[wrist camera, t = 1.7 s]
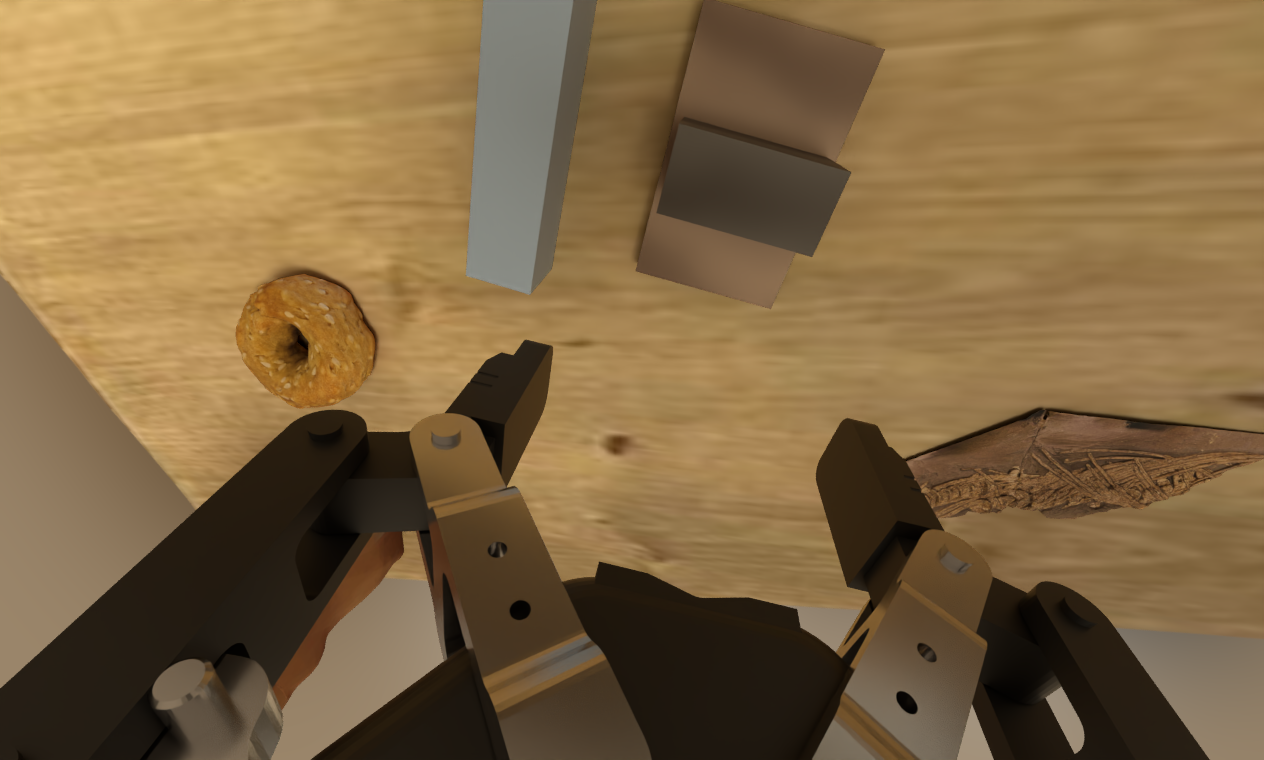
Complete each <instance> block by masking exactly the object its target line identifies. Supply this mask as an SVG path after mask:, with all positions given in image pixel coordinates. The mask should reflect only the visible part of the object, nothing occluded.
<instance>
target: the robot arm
mask: <svg viewBox="0 0 1264 760" xmlns="http://www.w3.org/2000/svg"><path fill="white" fill-rule="evenodd" d="M552 356H553V347H552V346H550V345H546V344H542V343H538V342H534V341H530V340H524V341H523V343H522V344H521V346H520V347H519V349H518V350H517V351H516V353H515V354H514V355H510V354H505V353H500V354H498V355H496V356H494V357H492V358H490V359H488V360H486V361H485V363H484V364H483V365H482V366H481V368H480V369H479V370H478V373H477V374H475V375H474V377H473V378H472V379H471V381H470V383H468V384H467V385H466V387H465V388H464V389H463V391H462V392H461V393H460V394H459V396H458V397H457V398H456V399H455V401H454V402H453V403H452V405H451V406H450V407H449V408H448V410H447V411H446V412H445V413H443V414H436V415H432V416H429V417H426V418H424V419H422V420H421V421H419V422H418V423H417V424H415V425H414V427H413V428H412V430H411V431H408V432H367V426H366V423H365V421H364V419H363V418H362V417H360V416H359V415H357V414H355V413H353V412H349V411H344V410H324V411H318V412H314V413H311V414H308V415H305V416H303V417H301V418H299V419H297V420H296V421H294V422H293V423H292V424H290V425H289V426H288V427H287V428H286V429H285V430H284V431H283V432H281V433H280V434H279V435H278V436H277V437H276V438H275V439H274V440H273V441H272V442H270V443H269V444H268V445H267V446H266V447H265V448H264V449H263V450H262V451H261V452H259V453H258V454H257V455H256V456H255V457H254V458H253V459H252V460H251V461H250V462H248V463H247V464H246V465H245V466H244V467H243V468H242V469H241V470H240V471H239V472H238V473H236V474H235V475H234V476H233V477H232V478H231V479H230V480H229V481H228V482H227V483H225V484H224V485H223V486H222V487H221V488H220V489H219V490H218V491H217V492H216V493H214V494H213V495H212V496H211V497H210V498H209V499H208V500H207V501H206V502H205V503H203V504H202V505H201V506H200V507H199V508H198V509H197V510H196V511H195V512H194V513H193V514H191V516H189V517H188V518H187V519H186V520H185V521H184V522H183V523H182V524H180V525H179V526H178V527H177V528H176V529H175V530H174V531H173V532H172V533H171V534H169V535H168V536H167V537H166V538H165V539H164V540H163V541H162V542H161V543H160V544H158V545H157V546H156V547H155V548H154V549H153V550H152V551H151V552H150V553H149V554H148V555H146V556H145V557H144V558H143V559H142V560H141V561H140V562H139V563H138V564H137V565H136V566H134V567H133V568H132V569H131V570H130V571H129V572H128V573H127V574H126V575H125V576H123V577H122V578H121V579H120V580H119V581H118V582H117V583H116V584H115V585H113V586H112V587H111V588H110V589H109V590H108V591H107V592H106V593H105V594H104V595H102V596H101V597H100V598H99V599H98V600H97V601H96V602H95V603H94V604H93V605H92V606H91V607H89V608H88V609H87V610H86V611H85V612H84V613H83V614H82V615H81V616H79V618H77V619H76V620H75V621H74V622H73V623H72V624H71V625H70V626H69V627H68V628H66V629H65V630H64V631H63V632H62V633H61V634H60V635H59V636H57V637H56V638H55V639H54V640H53V641H52V642H51V643H50V644H49V645H48V646H47V647H45V648H44V649H43V650H42V651H41V652H40V653H39V654H38V655H37V656H36V657H34V658H33V659H32V660H31V661H30V662H29V663H28V664H27V665H26V666H25V667H24V668H22V669H21V670H20V671H19V672H18V673H17V674H16V675H15V676H14V677H13V678H11V680H9V681H8V682H7V683H6V684H5V685H4V686H3V687H2V688H0V760H271V757H272V755H273V753H274V751H275V748H276V746H277V744H278V742H279V739H280V736H281V733H282V727H283V713H282V710H281V707H280V705H279V702H278V700H277V698H276V696H275V693H274V691H273V689H272V688H273V687H274V685H275V684H276V682H277V681H278V679H279V678H280V676H281V675H282V673H283V671H284V670H285V668H286V667H287V665H288V664H289V662H290V661H291V659H292V658H293V656H294V655H295V653H296V651H297V650H298V648H299V647H300V645H301V644H302V642H303V641H304V639H305V638H306V636H307V635H308V633H309V631H310V630H311V628H312V627H313V625H314V624H315V622H316V621H317V619H318V618H319V616H320V615H321V613H322V611H323V610H324V608H325V607H326V605H327V604H328V602H329V601H330V599H331V598H332V596H333V595H334V593H335V591H336V590H337V588H338V587H339V585H340V584H341V582H342V581H343V579H344V578H345V576H346V575H347V573H348V571H349V570H350V568H351V567H352V565H353V564H354V562H355V561H356V559H357V558H358V556H359V555H360V553H361V551H362V550H363V548H364V547H365V545H366V544H367V542H368V541H369V539H370V538H371V536H372V535H373V533H379V532H401V531H416V533H417V537H418V541H419V545H420V549H421V554H422V558H423V562H424V566H425V570H426V575H427V579H428V583H429V587H430V591H431V596H432V599H433V605H434V612H435V619H436V626H437V632H438V636H439V642H440V646H441V651H442V655H443V659H444V662H442V663H441V664H440V665H438V666H437V667H436V668H434V669H433V670H431V671H430V672H429V673H428V674H426V675H425V676H424V677H422V678H421V679H420V680H418V681H417V682H415V683H414V684H412V685H411V686H410V687H408V688H407V689H406V690H404V691H403V692H402V693H400V694H399V695H397V696H396V697H395V698H393V699H392V700H391V701H389V702H388V703H387V704H385V705H384V706H383V707H381V708H380V709H378V710H377V711H376V712H374V713H373V714H372V715H370V716H369V717H368V718H366V719H365V720H363V721H362V722H361V723H360V724H358V725H357V726H355V727H354V728H353V729H351V730H350V731H349V732H347V733H346V734H344V735H343V736H342V737H340V738H339V739H338V740H336V741H335V742H334V743H332V744H331V745H330V746H328V747H327V748H325V749H324V750H323V751H321V752H320V753H319V754H317V755H316V756H315V757H314V758H312V759H311V760H957V756H958V753H959V749H960V745H961V742H962V738H963V734H964V731H965V727H966V723H967V719H968V716H969V712H970V709H971V705H973V708H974V710H975V712H976V715H977V718H978V720H979V723H980V725H981V728H982V731H983V733H984V735H985V738H986V740H987V743H988V745H989V748H990V751H991V753H992V756H993V758H994V760H1209V758H1208V757H1207V755H1206V754H1205V753H1204V751H1203V750H1202V749H1201V747H1200V746H1199V744H1198V743H1197V741H1196V740H1195V739H1194V737H1193V736H1192V735H1191V734H1190V732H1189V730H1188V729H1187V728H1186V726H1185V725H1184V723H1183V722H1182V721H1181V719H1180V718H1179V716H1178V715H1177V714H1176V712H1175V711H1174V709H1173V708H1172V707H1171V705H1170V704H1169V703H1168V701H1167V700H1166V698H1165V697H1164V696H1163V694H1162V693H1161V691H1160V690H1159V689H1158V687H1157V686H1156V684H1154V682H1153V680H1152V679H1151V677H1150V676H1149V675H1148V673H1147V672H1146V671H1145V669H1144V668H1143V666H1142V665H1141V664H1140V662H1139V661H1138V660H1137V658H1136V657H1135V655H1134V654H1133V653H1132V651H1131V650H1130V648H1129V647H1128V646H1127V644H1126V643H1125V641H1124V640H1123V639H1122V637H1121V636H1120V634H1119V633H1118V632H1117V630H1116V629H1115V627H1114V626H1113V625H1112V623H1111V622H1110V621H1109V619H1108V618H1107V617H1106V616H1105V615H1104V614H1103V613H1102V612H1101V611H1100V610H1099V609H1098V608H1097V607H1096V606H1095V605H1093V604H1092V603H1091V602H1090V601H1088V600H1087V599H1086V598H1084V597H1083V596H1081V595H1080V594H1078V593H1077V592H1075V591H1073V590H1071V589H1070V588H1068V587H1065V586H1063V585H1060V584H1058V583H1054V582H1047V581H1045V582H1041V583H1039V584H1037V585H1036V586H1035V587H1034V588H1033V589H1032V590H1031V591H1030V592H1028V593H1026V592H1024V591H1022V590H1020V589H1018V588H1015V587H1013V586H1011V585H1009V584H1007V583H1005V582H1003V581H1001V580H999V579H997V578H994V577H992V572H991V569H990V567H989V565H988V563H987V562H986V561H985V559H984V558H983V557H982V556H981V555H980V554H979V553H978V552H977V551H976V550H975V549H974V548H973V547H972V546H971V545H969V544H968V543H967V542H965V541H964V540H962V539H960V538H959V537H957V536H955V535H953V534H950V533H948V532H945V531H944V529H943V528H942V526H941V524H940V522H939V520H938V518H937V517H936V515H935V513H934V511H933V509H932V508H931V506H930V504H929V502H928V500H927V499H926V497H925V495H924V493H921V490H922V489H921V488H920V486H919V484H918V482H917V481H916V480H914V479H915V477H914V475H913V473H912V471H911V470H910V468H909V466H908V464H907V462H906V461H905V460H904V459H903V458H902V457H901V456H900V455H899V454H898V453H897V452H896V451H895V450H894V449H893V448H891V447H888V445H887V443H886V441H885V439H884V437H883V435H882V433H881V431H880V430H879V428H878V426H876V425H874V424H870V423H866V422H862V421H858V420H853V419H849V418H846V419H844V420H843V421H842V422H841V423H840V425H839V427H838V428H837V430H836V432H835V434H834V435H833V437H832V439H831V441H830V443H829V444H828V446H827V448H826V450H825V451H824V453H823V455H822V457H821V458H820V460H819V463H818V466H817V471H816V482H817V486H818V489H819V493H820V496H821V499H822V503H823V506H824V510H825V513H826V516H827V520H828V523H829V526H830V530H831V533H832V537H833V540H834V543H835V547H836V550H837V554H838V557H839V560H840V564H841V567H842V571H843V574H844V577H845V581H846V584H847V587H850V588H854V589H858V590H862V591H867V592H869V595H870V599H869V600H868V601H867V603H866V604H865V605H864V606H863V608H862V610H861V611H860V613H859V615H858V616H857V618H856V620H855V621H854V623H853V625H852V626H851V628H850V630H849V631H848V633H847V635H846V636H845V638H844V640H843V642H842V643H841V645H840V646H839V648H838V650H837V652H835V651H833V650H832V649H831V648H830V647H829V646H828V645H826V644H825V643H823V642H822V641H821V640H819V639H818V638H817V637H815V636H814V635H812V634H810V633H809V632H807V631H806V630H804V629H802V628H800V623H799V617H798V612H797V609H794V608H790V607H786V606H782V605H778V604H773V603H769V602H765V601H761V600H757V599H753V598H699V597H695V596H693V595H691V594H689V593H687V592H685V591H683V590H681V589H679V588H677V587H675V586H673V585H671V584H668V583H666V582H664V581H662V580H660V579H658V578H656V577H654V576H652V575H650V574H648V573H644V572H640V571H636V570H632V569H628V568H623V567H619V566H615V565H611V564H607V563H603V562H599V564H598V568H597V572H596V576H595V577H584V578H577V579H571V580H567V581H564V582H562V581H561V579H560V576H559V574H558V572H557V570H556V568H555V566H554V563H553V561H552V559H551V557H550V555H549V553H548V551H547V548H546V546H545V544H544V542H543V540H542V538H541V535H540V533H539V531H538V529H537V527H536V525H535V523H534V520H533V518H532V516H531V514H530V512H529V510H528V507H527V505H526V503H525V501H524V499H523V497H522V495H521V493H520V491H519V490H518V488H517V487H515V486H512V487H508V488H507V485H508V483H509V481H510V479H511V477H512V475H513V473H514V471H515V469H516V467H517V465H518V463H519V461H520V458H521V456H522V454H523V452H524V450H525V448H526V446H527V444H528V442H529V440H530V438H531V436H532V434H533V432H534V430H535V428H536V426H537V424H538V422H539V419H540V417H541V415H542V413H543V410H544V407H545V403H546V399H547V394H548V387H549V379H550V372H551V364H552ZM1061 686H1062V688H1063V690H1064V692H1065V693H1066V695H1067V697H1068V699H1069V701H1070V702H1071V704H1072V706H1073V708H1074V710H1075V711H1076V713H1077V715H1078V717H1079V719H1080V721H1081V723H1082V725H1083V729H1084V734H1085V735H1084V736H1085V738H1084V739H1085V740H1084V745H1083V747H1082V749H1081V750H1080V751H1079V752H1078V753H1076V754H1074V752H1073V750H1072V748H1071V746H1070V745H1069V742H1068V741H1067V739H1066V737H1065V735H1064V733H1063V731H1062V729H1061V727H1060V725H1059V723H1058V721H1057V719H1056V717H1055V716H1054V713H1053V712H1052V710H1051V708H1050V706H1049V704H1048V702H1047V700H1046V698H1045V697H1047V696H1048V695H1050V694H1051V693H1053V692H1054V691H1056V690H1057V689H1058V688H1060V687H1061Z"/></svg>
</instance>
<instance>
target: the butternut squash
mask: <svg viewBox="0 0 1264 760" xmlns="http://www.w3.org/2000/svg"><path fill="white" fill-rule="evenodd" d="M403 553H404V545H403V537H402V531H401V532H379V533H373V535H372V536H371V538H370V539H369V541H368V542H367V544H366V545H365V547H364V548H363V550H362V551H361V553H360V555H359V556H358V558H357V559H356V561H355V562H354V564H353V565H352V567H351V568H350V570H349V571H348V573H347V575H346V576H345V578H344V579H343V581H342V582H341V584H340V585H339V587H338V588H337V590H336V591H335V593H334V595H333V596H332V598H331V599H330V601H329V602H328V604H327V605H326V607H325V608H324V610H323V611H322V613H321V615H320V616H319V618H318V619H317V621H316V622H315V624H314V625H313V627H312V628H311V630H310V631H309V633H308V635H307V636H306V638H305V639H304V641H303V642H302V644H301V645H300V647H299V648H298V650H297V651H296V653H295V655H294V656H293V658H292V659H291V661H290V662H289V664H288V665H287V667H286V668H285V670H284V671H283V673H282V675H281V676H280V678H279V679H278V681H277V682H276V684H275V685H274V687H273V688H272V689H273V691H274V693H275V696H276V698H277V700H278V702H279V705H280V707H281V710H282V709H283V708H284V706H285V705H286V703H287V702H288V700H289V698H290V697H291V695H292V693H293V691H294V690H295V689H296V687H297V686H298V685H299V684H300V683H301V682H302V681H304V680H305V679H306V678H307V677H308V676H309V675H310V674H311V673H312V672H313V671H314V669H315V668H316V667H317V665H318V664H319V661H320V659H321V657H322V655H323V652H324V649H325V642H326V638H327V635H328V633H329V632H330V631H331V630H332V629H333V627H334V626H335V625H336V624H337V623H338V622H339V621H340V619H342V618H343V617H344V616H345V615H346V614H347V613H349V612H350V611H351V610H352V609H353V608H355V607H356V606H357V605H358V604H359V603H360V602H362V601H363V600H364V599H365V598H366V597H367V596H368V595H369V594H370V593H371V592H372V591H373V590H374V589H375V588H376V587H377V586H378V585H379V584H380V582H381V581H382V579H383V578H384V577H385V575H386V574H387V572H388V571H389V569H390V568H391V566H392V565H393V564H394V563H395V562H396V561H397V560H399V559H400V558H401V556H402V555H403Z"/></svg>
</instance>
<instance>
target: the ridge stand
mask: <svg viewBox="0 0 1264 760" xmlns="http://www.w3.org/2000/svg"><path fill="white" fill-rule="evenodd" d="M884 51H885V49H882V48H878V47H875V46H871V45H868V44H864V43H861V42H857V41H854V40H850V39H847V38H844V37H840V36H837V35H833V34H830V33H826V32H823V31H819V30H816V29H812V28H809V27H805V26H802V25H798V24H795V23H792V22H788V21H785V20H781V19H778V18H774V17H771V16H767V15H764V14H760V13H757V12H753V11H750V10H746V9H743V8H739V7H736V6H733V5H729V4H726V3H722V2H719V1H715V0H704V2H703V6H702V10H701V13H700V17H699V21H698V25H697V29H696V33H695V37H694V41H693V45H692V49H691V53H690V57H689V61H688V65H687V69H686V73H685V77H684V81H683V85H682V89H681V93H680V97H679V101H678V105H677V109H676V113H675V117H674V121H673V125H672V129H671V133H670V137H669V141H668V145H667V148H666V152H665V156H664V160H663V164H662V168H661V172H660V176H659V180H658V184H657V188H656V192H655V196H654V200H653V204H652V208H651V212H650V216H649V220H648V224H647V228H646V232H645V236H644V240H643V244H642V248H641V252H640V256H639V260H638V264H637V268H636V271H637V272H641V273H644V274H648V275H651V276H655V277H658V278H662V279H666V280H669V281H673V282H676V283H680V284H683V285H687V286H691V287H694V288H698V289H701V290H705V291H708V292H712V293H716V294H719V295H723V296H726V297H730V298H733V299H737V300H741V301H744V302H748V303H751V304H755V305H758V306H762V307H766V308H769V309H771V308H772V306H773V303H774V301H775V299H776V296H777V294H778V292H779V290H780V287H781V285H782V283H783V281H784V278H785V276H786V274H787V271H788V269H789V267H790V265H791V262H792V260H793V258H794V256H795V253H800V254H803V255H807V256H810V257H812V256H813V254H814V252H815V250H816V248H817V245H818V243H819V241H820V239H821V237H822V235H823V232H824V230H825V228H826V226H827V224H828V222H829V220H830V217H831V215H832V213H833V211H834V209H835V207H836V204H837V202H838V200H839V198H840V196H841V194H842V191H843V189H844V187H845V185H846V183H847V181H848V178H849V176H850V174H851V172H850V171H848V170H847V169H845V168H843V167H842V166H840V165H839V164H837V163H835V162H836V160H837V158H838V156H839V153H840V151H841V149H842V146H843V144H844V142H845V140H846V137H847V135H848V133H849V131H850V128H851V126H852V124H853V121H854V119H855V117H856V115H857V112H858V110H859V108H860V106H861V103H862V101H863V99H864V96H865V94H866V92H867V90H868V87H869V85H870V83H871V81H872V78H873V76H874V74H875V71H876V69H877V67H878V65H879V62H880V60H881V58H882V56H883V53H884Z"/></svg>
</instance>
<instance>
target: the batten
mask: <svg viewBox="0 0 1264 760" xmlns="http://www.w3.org/2000/svg"><path fill="white" fill-rule="evenodd" d="M596 4H597V0H483V15H482V31H481V47H480V62H479V78H478V94H477V110H476V126H475V142H474V157H473V173H472V189H471V205H470V221H469V236H468V252H467V268H466V276H469V277H472V278H476V279H479V280H482V281H486V282H489V283H492V284H496V285H499V286H502V287H506V288H509V289H513V290H516V291H519V292H523V293H526V294H529V295H530V294H531V293H532V292H533V291H534V289H535V288H536V287H537V286H538V285H539V284H540V282H541V281H542V280H543V279H544V278H545V276H546V275H547V274H548V273H549V272H550V270H551V269H552V264H553V259H554V253H555V247H556V241H557V235H558V229H559V223H560V217H561V211H562V205H563V199H564V193H565V187H566V182H567V176H568V170H569V164H570V158H571V152H572V146H573V140H574V134H575V128H576V122H577V116H578V111H579V105H580V99H581V93H582V87H583V81H584V75H585V69H586V63H587V57H588V51H589V45H590V39H591V34H592V28H593V22H594V16H595V10H596Z"/></svg>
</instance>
